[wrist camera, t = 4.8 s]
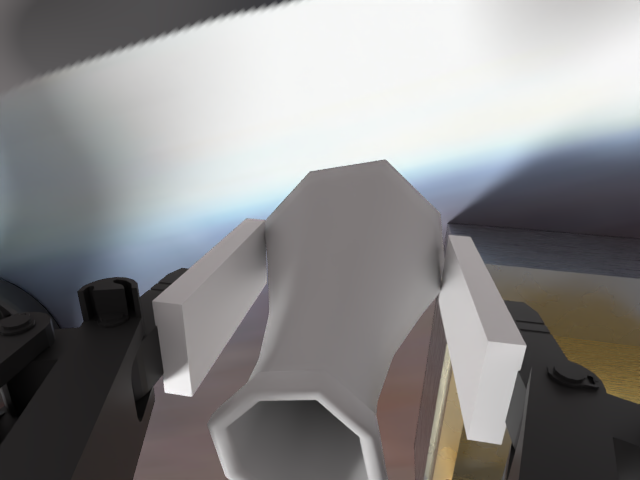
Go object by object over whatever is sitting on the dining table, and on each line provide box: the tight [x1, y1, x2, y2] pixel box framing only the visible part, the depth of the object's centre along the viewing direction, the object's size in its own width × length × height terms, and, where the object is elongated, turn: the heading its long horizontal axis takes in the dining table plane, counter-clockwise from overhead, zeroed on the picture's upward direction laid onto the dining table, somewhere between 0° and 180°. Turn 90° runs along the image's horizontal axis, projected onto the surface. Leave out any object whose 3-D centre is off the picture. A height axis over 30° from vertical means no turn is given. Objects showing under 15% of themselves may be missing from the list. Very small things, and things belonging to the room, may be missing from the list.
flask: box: [207, 160, 445, 480], centre depth 12 cm, size 7×7×10 cm
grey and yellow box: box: [414, 223, 640, 480], centre depth 26 cm, size 14×25×14 cm, turn 179°
